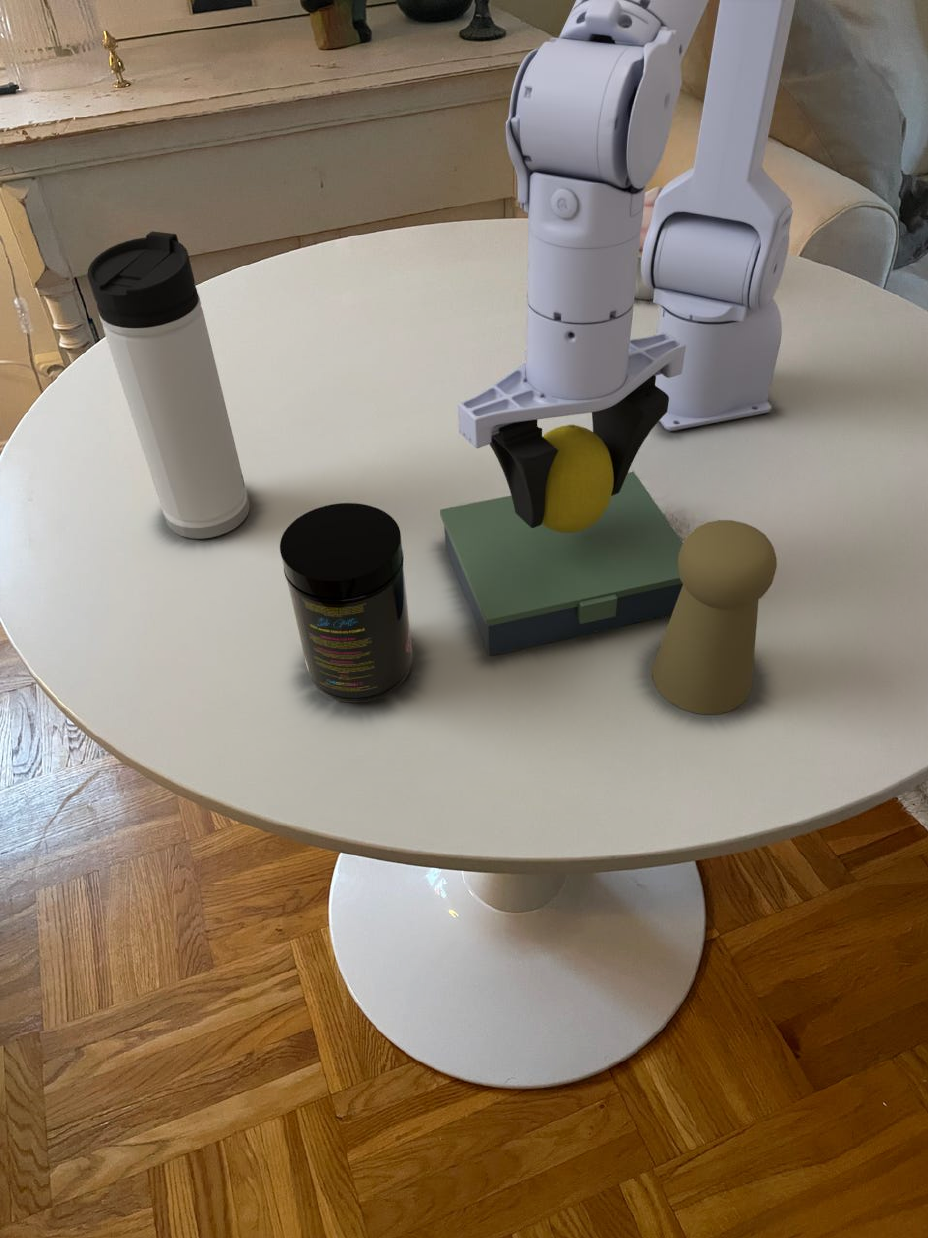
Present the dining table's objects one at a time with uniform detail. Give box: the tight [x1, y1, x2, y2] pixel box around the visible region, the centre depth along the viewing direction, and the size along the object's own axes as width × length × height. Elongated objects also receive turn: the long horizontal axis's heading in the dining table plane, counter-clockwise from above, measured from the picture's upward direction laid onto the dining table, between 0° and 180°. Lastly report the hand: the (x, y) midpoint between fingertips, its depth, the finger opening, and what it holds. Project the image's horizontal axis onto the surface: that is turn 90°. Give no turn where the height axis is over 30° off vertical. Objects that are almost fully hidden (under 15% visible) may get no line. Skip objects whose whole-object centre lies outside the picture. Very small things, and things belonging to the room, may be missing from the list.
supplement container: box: [279, 502, 413, 703], centre depth 55 cm, size 7×7×10 cm
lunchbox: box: [439, 471, 684, 656], centre depth 63 cm, size 14×12×4 cm
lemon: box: [542, 424, 614, 533], centre depth 58 cm, size 6×6×8 cm
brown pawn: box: [651, 519, 778, 715], centre depth 53 cm, size 6×6×11 cm
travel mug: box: [86, 230, 251, 540], centre depth 63 cm, size 6×7×20 cm
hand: (568, 501), depth 59 cm, fingers closed on lemon, 5 cm apart
